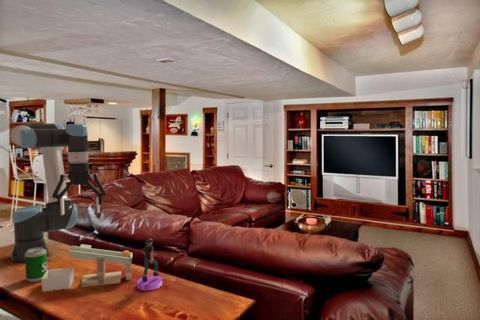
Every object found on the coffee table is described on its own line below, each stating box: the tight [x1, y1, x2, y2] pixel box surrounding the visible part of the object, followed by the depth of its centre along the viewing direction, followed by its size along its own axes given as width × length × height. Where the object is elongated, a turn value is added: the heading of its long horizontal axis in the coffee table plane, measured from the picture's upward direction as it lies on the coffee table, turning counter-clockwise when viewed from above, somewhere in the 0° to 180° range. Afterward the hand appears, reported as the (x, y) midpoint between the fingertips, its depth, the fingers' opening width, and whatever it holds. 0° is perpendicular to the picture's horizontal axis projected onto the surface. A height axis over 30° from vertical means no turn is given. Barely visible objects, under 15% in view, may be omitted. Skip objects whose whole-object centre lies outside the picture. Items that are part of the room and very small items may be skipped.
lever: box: [67, 243, 133, 266], centre depth 143 cm, size 14×23×3 cm, turn 106°
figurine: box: [136, 237, 163, 291], centre depth 135 cm, size 9×9×18 cm
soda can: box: [24, 247, 49, 283], centre depth 141 cm, size 8×8×12 cm
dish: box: [41, 267, 75, 293], centre depth 135 cm, size 8×9×5 cm
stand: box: [80, 256, 132, 288], centre depth 139 cm, size 8×18×11 cm, turn 106°
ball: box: [121, 250, 131, 258], centre depth 141 cm, size 4×4×4 cm
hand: (80, 213), depth 146 cm, fingers open, 13 cm apart
